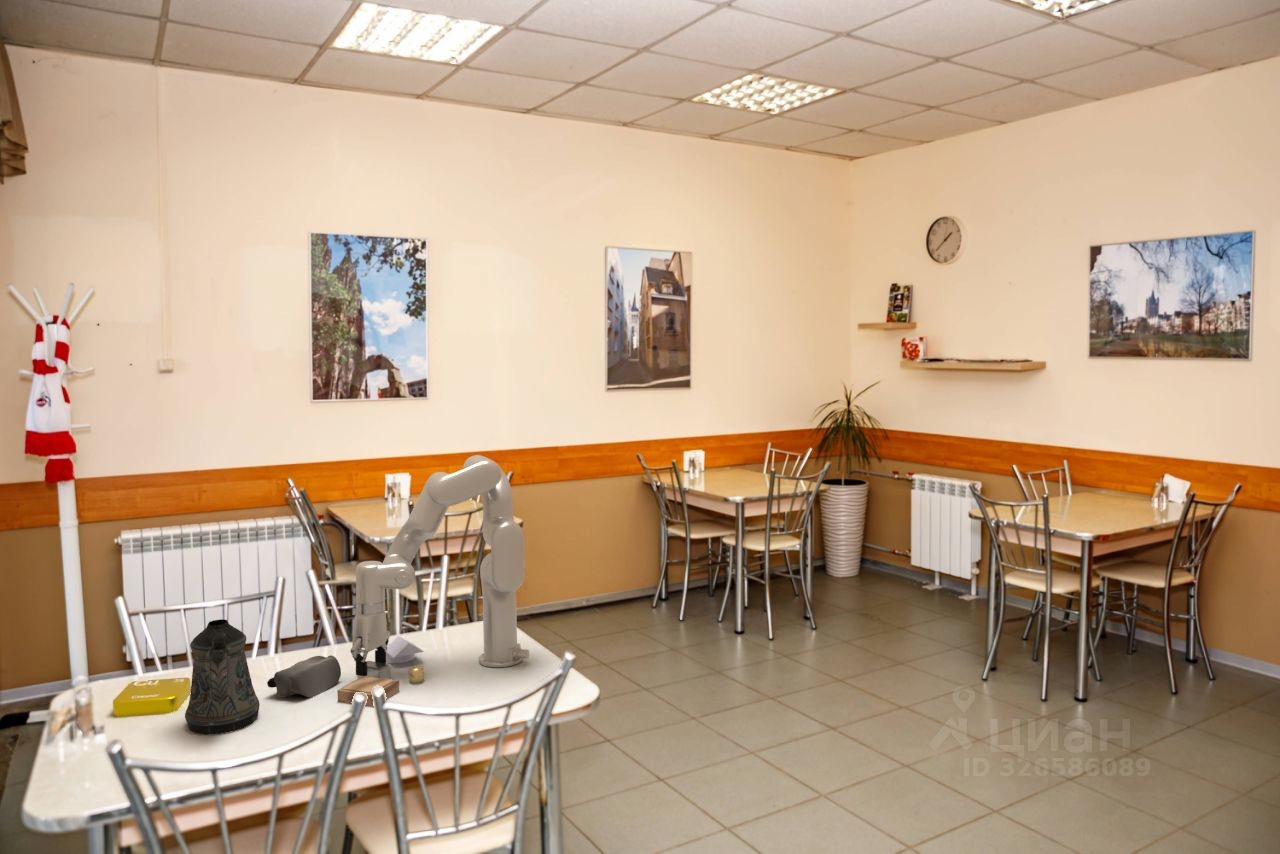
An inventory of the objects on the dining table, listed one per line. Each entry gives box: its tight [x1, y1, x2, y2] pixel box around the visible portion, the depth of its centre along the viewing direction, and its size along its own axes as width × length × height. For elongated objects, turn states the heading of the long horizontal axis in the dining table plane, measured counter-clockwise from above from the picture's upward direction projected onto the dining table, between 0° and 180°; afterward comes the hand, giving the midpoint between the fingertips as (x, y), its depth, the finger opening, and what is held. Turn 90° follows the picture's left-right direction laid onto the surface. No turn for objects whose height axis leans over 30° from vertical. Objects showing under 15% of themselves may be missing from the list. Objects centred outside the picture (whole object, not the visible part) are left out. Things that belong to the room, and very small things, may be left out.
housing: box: [356, 660, 392, 679], centre depth 252 cm, size 8×4×4 cm, turn 65°
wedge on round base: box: [386, 635, 425, 664], centre depth 268 cm, size 9×7×13 cm
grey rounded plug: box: [266, 655, 342, 698], centre depth 246 cm, size 18×11×8 cm, turn 158°
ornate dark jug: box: [184, 619, 261, 736], centre depth 223 cm, size 16×19×25 cm
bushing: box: [408, 664, 425, 686], centre depth 250 cm, size 4×4×4 cm
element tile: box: [112, 677, 192, 718], centre depth 237 cm, size 15×15×5 cm
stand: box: [337, 676, 400, 708], centre depth 240 cm, size 11×11×3 cm
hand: (371, 669), depth 252 cm, fingers open, 8 cm apart
